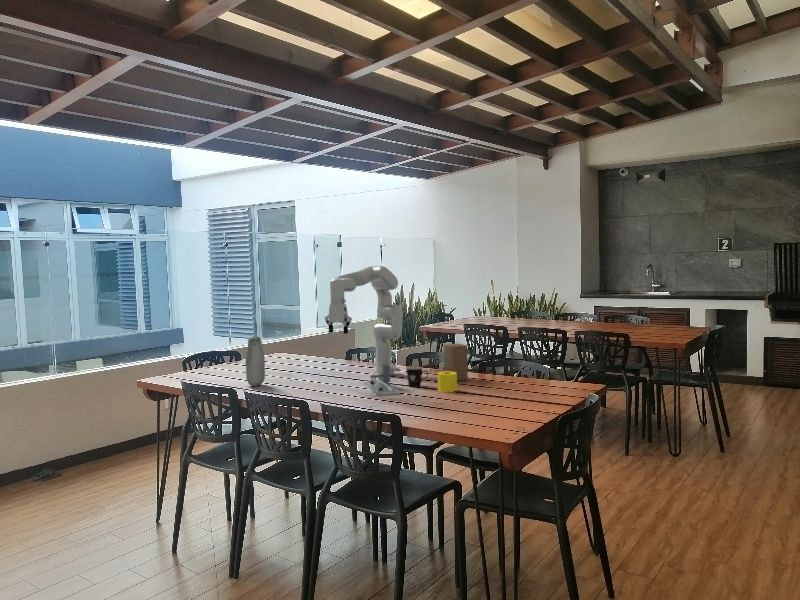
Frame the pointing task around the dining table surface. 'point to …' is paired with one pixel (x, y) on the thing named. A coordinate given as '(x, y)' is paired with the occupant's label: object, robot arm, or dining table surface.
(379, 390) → the gauge board
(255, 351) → the grey vase
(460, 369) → the wooden block
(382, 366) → the sliding jaw
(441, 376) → the tape roll
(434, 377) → the dining table surface
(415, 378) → the coffee mug
